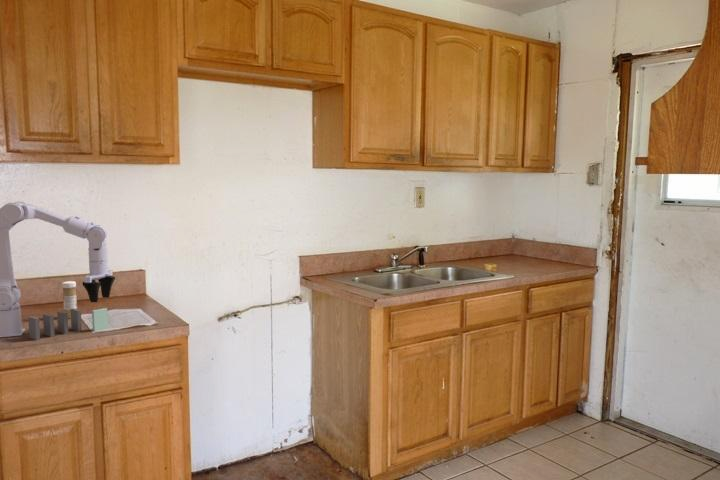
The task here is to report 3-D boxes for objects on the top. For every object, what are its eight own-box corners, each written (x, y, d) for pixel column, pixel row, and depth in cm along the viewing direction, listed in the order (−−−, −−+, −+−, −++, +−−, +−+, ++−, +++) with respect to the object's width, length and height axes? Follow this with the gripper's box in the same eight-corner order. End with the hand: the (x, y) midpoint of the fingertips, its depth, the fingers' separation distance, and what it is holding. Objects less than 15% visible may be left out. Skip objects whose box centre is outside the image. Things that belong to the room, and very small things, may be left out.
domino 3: (64, 334, 186) (63, 313, 185) (57, 331, 189) (56, 311, 188) (68, 333, 187) (67, 312, 186) (61, 331, 190) (60, 310, 189)
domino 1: (36, 340, 179) (34, 318, 178) (29, 337, 182) (28, 316, 181) (40, 339, 180) (38, 318, 179) (33, 336, 183) (32, 315, 182)
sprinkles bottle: (67, 316, 211) (65, 280, 209) (79, 315, 211) (77, 280, 210) (61, 319, 206) (59, 283, 205) (74, 318, 207) (72, 282, 205)
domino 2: (50, 337, 182) (49, 316, 182) (44, 334, 185) (42, 314, 184) (54, 336, 183) (53, 315, 183) (47, 333, 186) (46, 313, 185)
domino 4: (78, 331, 190) (77, 311, 189) (71, 329, 192) (70, 309, 192) (81, 330, 190) (80, 310, 190) (74, 328, 193) (73, 308, 193)
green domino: (108, 328, 193) (107, 308, 192) (94, 331, 189) (93, 311, 189) (106, 327, 194) (105, 308, 193) (92, 330, 190) (91, 310, 189)
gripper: (98, 264, 185) (100, 304, 186) (120, 258, 199) (121, 295, 200) (77, 263, 185) (79, 304, 186) (100, 257, 199) (102, 295, 201)
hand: (100, 299), depth 193 cm, fingers open, 7 cm apart
